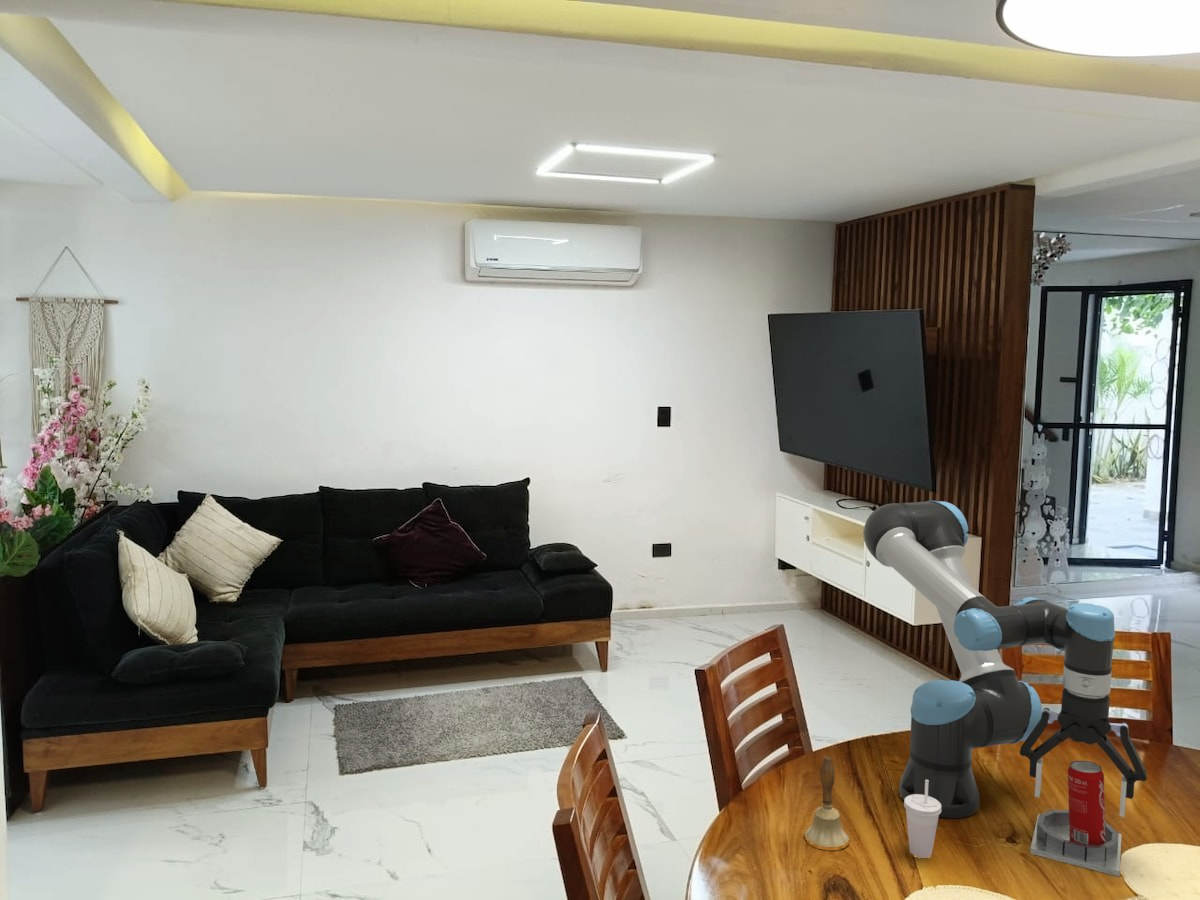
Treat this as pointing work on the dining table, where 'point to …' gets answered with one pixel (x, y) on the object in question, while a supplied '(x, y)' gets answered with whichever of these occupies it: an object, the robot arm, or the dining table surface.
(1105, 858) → the collar
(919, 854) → the smoothie
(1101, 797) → the beverage can
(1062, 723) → the robot arm
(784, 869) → the dining table surface
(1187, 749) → the dining table surface
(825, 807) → the hand bell
